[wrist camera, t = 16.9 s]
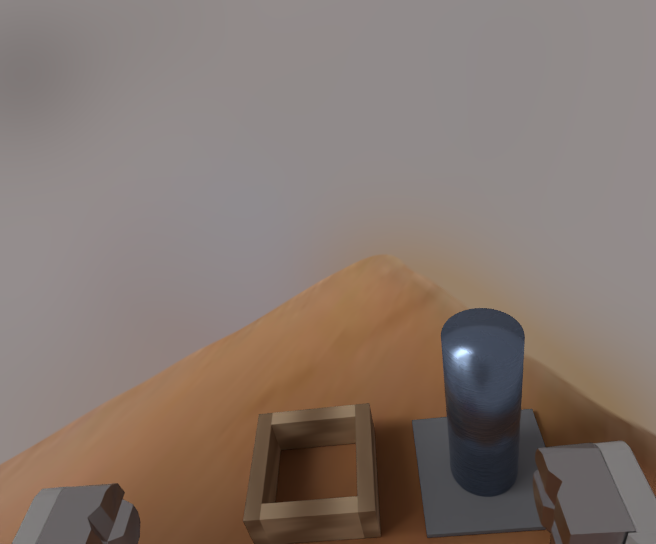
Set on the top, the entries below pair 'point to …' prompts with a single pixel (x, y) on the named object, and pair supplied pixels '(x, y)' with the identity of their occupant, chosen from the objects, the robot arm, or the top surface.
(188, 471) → the top surface
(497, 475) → the tall blue steel cylinder
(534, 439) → the charcoal mat
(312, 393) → the top surface
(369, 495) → the oak collar
